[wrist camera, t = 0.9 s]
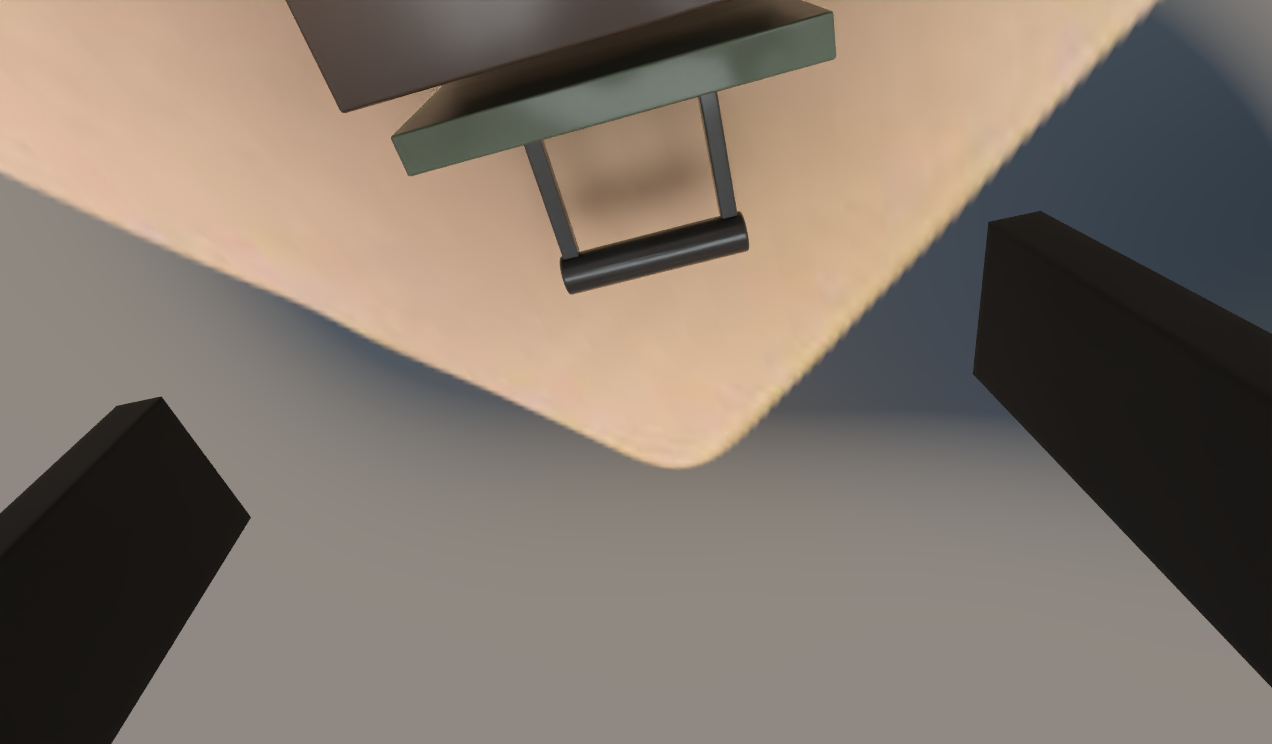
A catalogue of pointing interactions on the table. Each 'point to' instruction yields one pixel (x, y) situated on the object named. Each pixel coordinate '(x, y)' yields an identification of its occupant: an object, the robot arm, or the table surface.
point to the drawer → (615, 88)
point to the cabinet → (453, 37)
